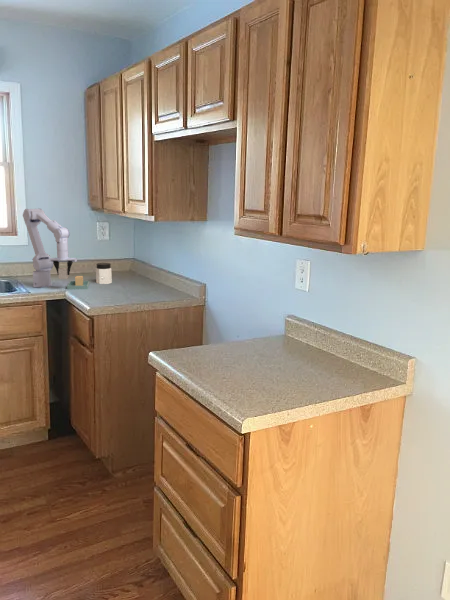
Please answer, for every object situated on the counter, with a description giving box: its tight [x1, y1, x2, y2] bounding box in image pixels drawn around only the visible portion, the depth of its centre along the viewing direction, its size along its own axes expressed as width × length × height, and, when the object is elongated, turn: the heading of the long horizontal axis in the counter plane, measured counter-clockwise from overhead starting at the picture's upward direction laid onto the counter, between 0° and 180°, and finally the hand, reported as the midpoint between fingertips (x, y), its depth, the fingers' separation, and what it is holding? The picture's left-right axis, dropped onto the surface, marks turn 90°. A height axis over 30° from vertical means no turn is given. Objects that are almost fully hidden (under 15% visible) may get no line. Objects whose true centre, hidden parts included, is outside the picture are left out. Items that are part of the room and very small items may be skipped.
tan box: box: [74, 275, 84, 286], centre depth 298 cm, size 4×4×5 cm
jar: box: [95, 262, 113, 285], centre depth 307 cm, size 9×8×12 cm
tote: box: [66, 280, 91, 290], centre depth 294 cm, size 11×15×2 cm
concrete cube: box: [57, 267, 69, 280], centre depth 285 cm, size 5×5×6 cm
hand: (63, 274), depth 285 cm, fingers closed on concrete cube, 5 cm apart
